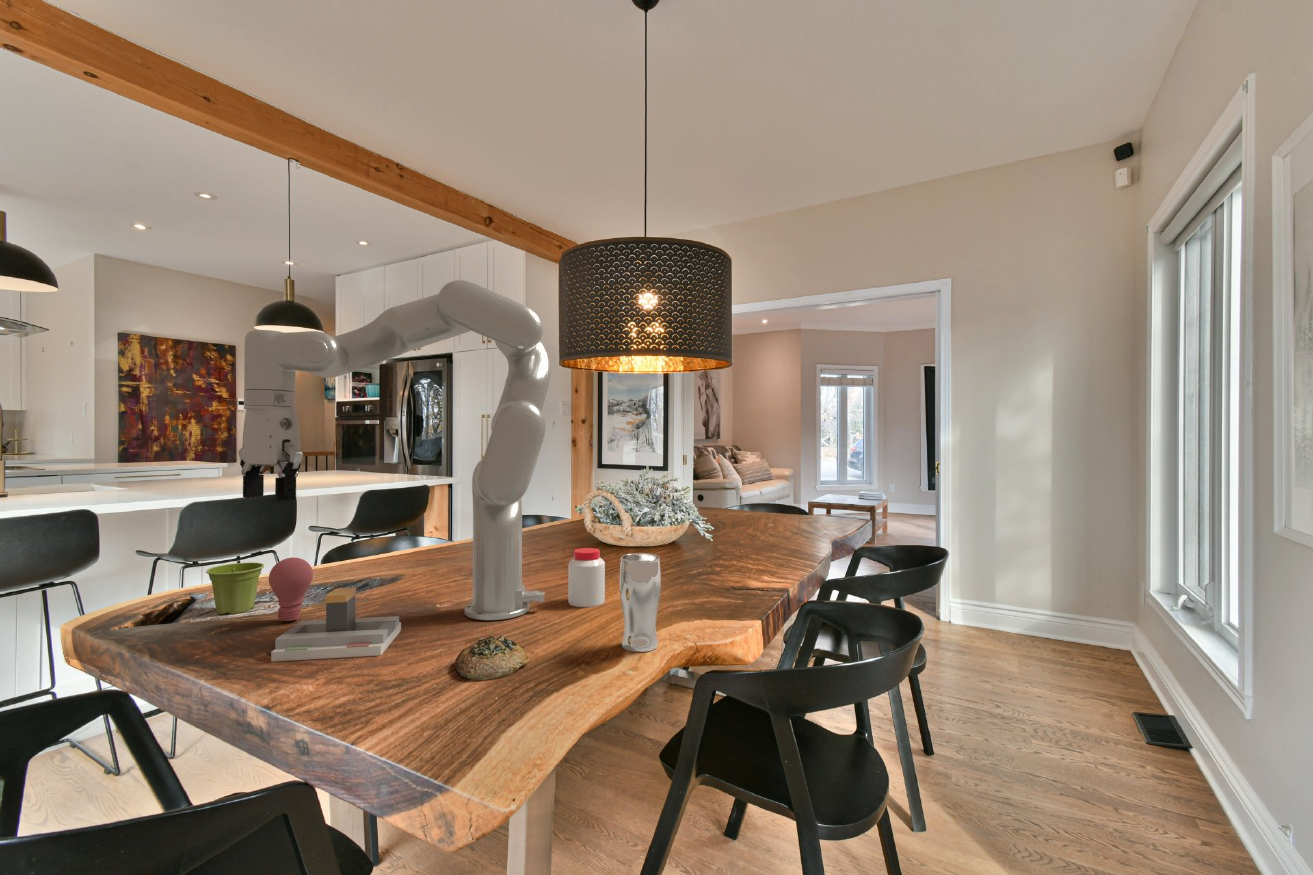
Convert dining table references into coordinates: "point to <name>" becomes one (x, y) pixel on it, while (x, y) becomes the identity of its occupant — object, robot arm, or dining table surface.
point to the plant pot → (235, 586)
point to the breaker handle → (340, 610)
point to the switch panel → (334, 651)
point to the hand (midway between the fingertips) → (269, 498)
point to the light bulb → (290, 586)
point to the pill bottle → (586, 578)
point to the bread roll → (490, 659)
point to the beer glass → (640, 600)
